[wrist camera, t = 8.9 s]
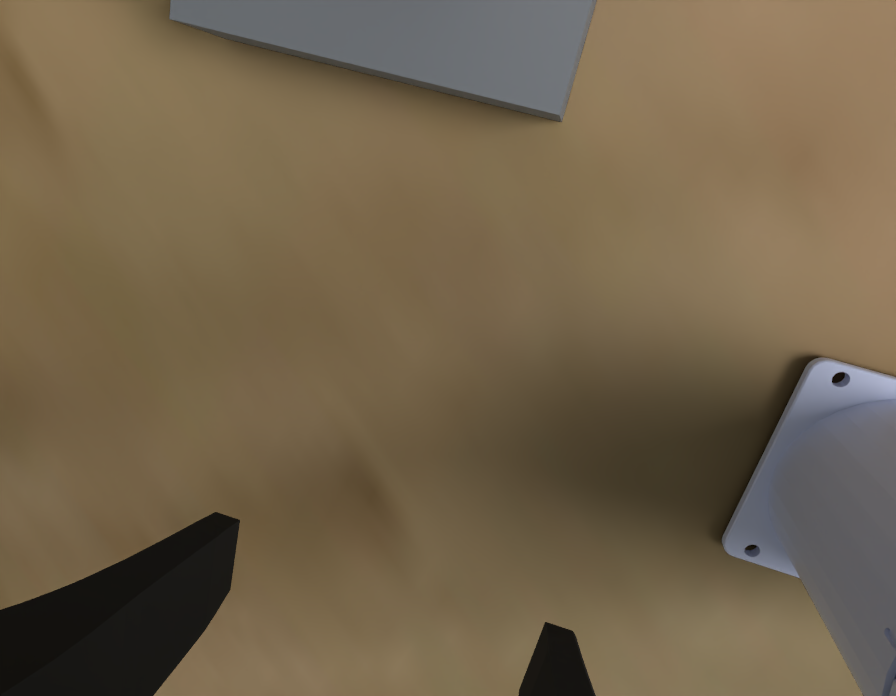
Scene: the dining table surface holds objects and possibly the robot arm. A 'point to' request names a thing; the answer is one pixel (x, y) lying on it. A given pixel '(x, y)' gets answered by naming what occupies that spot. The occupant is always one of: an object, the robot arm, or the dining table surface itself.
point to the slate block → (421, 42)
